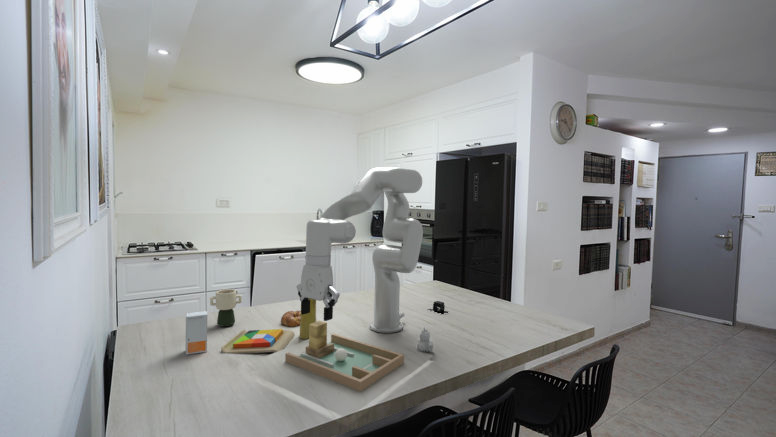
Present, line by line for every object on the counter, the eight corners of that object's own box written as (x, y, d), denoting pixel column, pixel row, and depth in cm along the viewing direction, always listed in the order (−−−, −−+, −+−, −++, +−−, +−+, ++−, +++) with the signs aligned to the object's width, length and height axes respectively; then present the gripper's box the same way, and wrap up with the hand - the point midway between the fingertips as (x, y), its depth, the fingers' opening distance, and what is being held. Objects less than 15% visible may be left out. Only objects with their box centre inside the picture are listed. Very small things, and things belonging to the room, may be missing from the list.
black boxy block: (454, 314, 159) (455, 303, 159) (444, 317, 154) (444, 306, 154) (432, 307, 168) (433, 297, 168) (422, 310, 163) (422, 300, 163)
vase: (312, 340, 125) (313, 299, 125) (296, 338, 127) (296, 297, 126) (319, 333, 131) (320, 294, 131) (303, 332, 133) (304, 293, 132)
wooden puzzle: (243, 334, 131) (243, 324, 131) (295, 335, 130) (295, 326, 130) (219, 354, 114) (219, 343, 114) (279, 356, 113) (279, 345, 113)
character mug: (241, 320, 144) (241, 288, 144) (241, 326, 138) (241, 292, 137) (210, 323, 140) (210, 290, 139) (209, 329, 133) (209, 294, 133)
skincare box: (185, 355, 111) (185, 316, 111) (185, 350, 115) (185, 313, 115) (207, 352, 114) (207, 314, 114) (207, 347, 118) (207, 310, 117)
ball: (340, 357, 109) (340, 345, 109) (349, 360, 107) (349, 348, 107) (332, 361, 106) (332, 349, 106) (341, 364, 104) (341, 352, 104)
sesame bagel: (304, 328, 138) (304, 318, 137) (275, 327, 138) (275, 318, 138) (311, 317, 150) (312, 309, 149) (285, 317, 150) (285, 308, 150)
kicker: (320, 346, 116) (320, 319, 116) (334, 351, 113) (334, 322, 113) (303, 354, 111) (303, 324, 110) (317, 359, 107) (317, 329, 107)
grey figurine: (425, 347, 121) (425, 323, 121) (438, 354, 116) (439, 329, 115) (412, 350, 118) (413, 326, 118) (425, 358, 113) (426, 332, 112)
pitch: (333, 344, 122) (333, 333, 122) (403, 366, 106) (404, 354, 106) (285, 365, 106) (285, 353, 106) (360, 396, 90) (360, 382, 90)
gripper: (289, 258, 113) (287, 313, 113) (330, 265, 103) (328, 325, 103) (307, 256, 119) (306, 308, 119) (347, 262, 109) (346, 319, 109)
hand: (316, 316), depth 111 cm, fingers open, 9 cm apart
